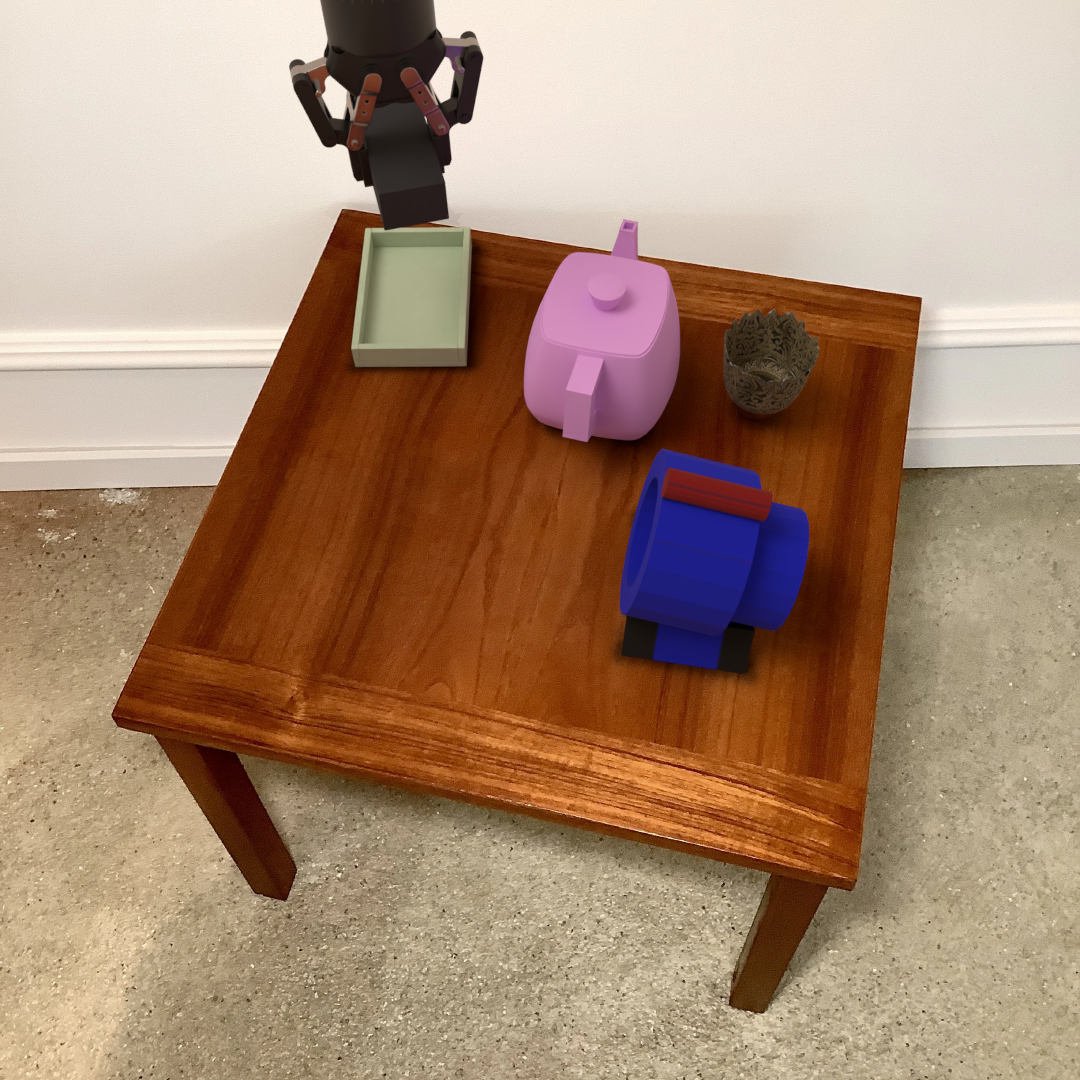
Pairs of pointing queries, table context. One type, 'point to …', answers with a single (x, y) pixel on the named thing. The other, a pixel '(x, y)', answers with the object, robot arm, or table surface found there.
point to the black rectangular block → (405, 167)
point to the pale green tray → (413, 298)
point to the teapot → (604, 344)
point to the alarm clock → (708, 564)
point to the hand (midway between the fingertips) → (402, 172)
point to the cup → (767, 362)
